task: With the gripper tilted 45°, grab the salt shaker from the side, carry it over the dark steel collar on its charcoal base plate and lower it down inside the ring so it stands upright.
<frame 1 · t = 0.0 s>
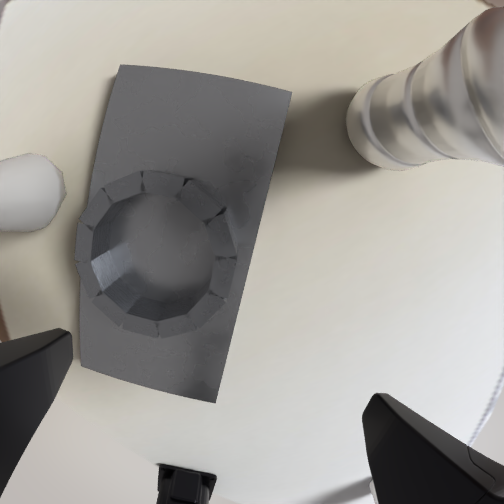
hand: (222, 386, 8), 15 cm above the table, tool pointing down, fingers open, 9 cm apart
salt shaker: (48, 189, 21), on the table
plastic bottle: (379, 127, 20), on the table
steel collar: (166, 243, 22), on the table
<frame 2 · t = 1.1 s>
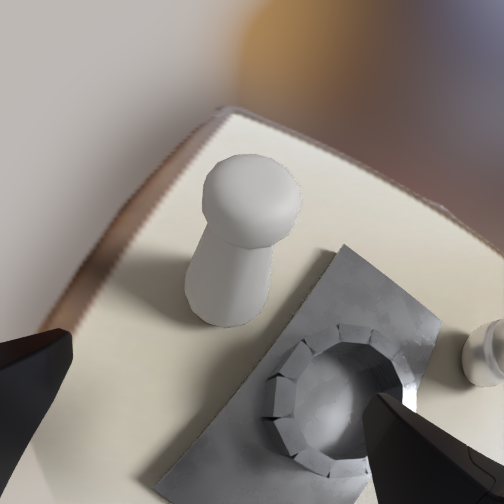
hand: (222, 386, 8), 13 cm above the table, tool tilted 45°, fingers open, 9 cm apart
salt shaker: (222, 299, 24), on the table
plastic bottle: (472, 362, 24), on the table
steel collar: (325, 405, 20), on the table
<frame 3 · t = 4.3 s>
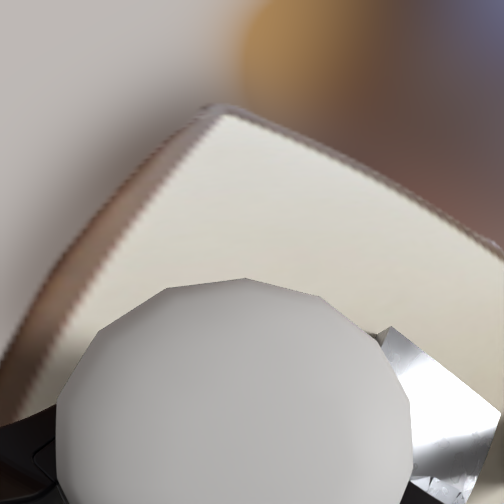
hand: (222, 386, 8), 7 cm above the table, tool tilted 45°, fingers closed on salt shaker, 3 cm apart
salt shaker: (203, 426, 13), on the table, touching gripper
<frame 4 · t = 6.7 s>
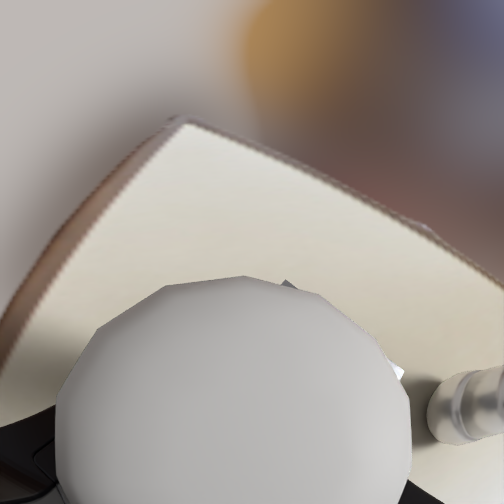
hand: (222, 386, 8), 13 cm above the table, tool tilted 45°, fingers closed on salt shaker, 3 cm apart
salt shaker: (204, 425, 13), point 6 cm above the table, touching gripper
plastic bottle: (442, 412, 21), on the table
when the fingers open (10 cm above the table, at t = 9.1 s): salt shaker stays where it is, resting on steel collar.
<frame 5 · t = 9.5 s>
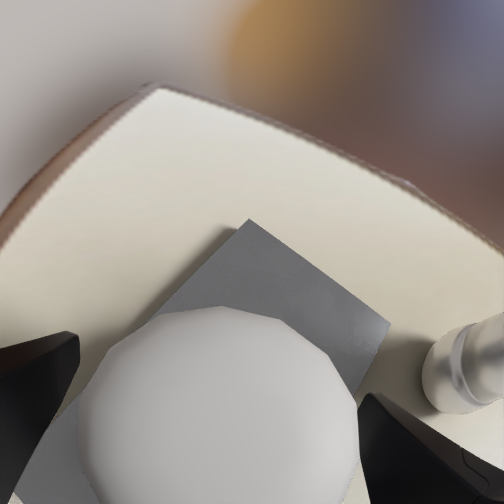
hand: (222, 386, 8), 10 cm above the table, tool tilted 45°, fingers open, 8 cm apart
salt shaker: (201, 429, 14), point 1 cm above the table, touching steel collar
plastic bottle: (440, 378, 19), on the table
steel collar: (202, 424, 15), on the table
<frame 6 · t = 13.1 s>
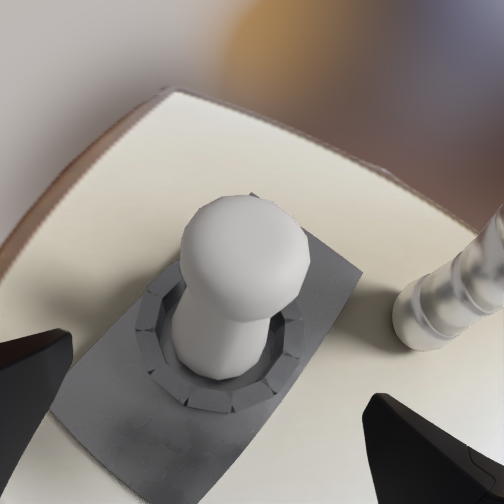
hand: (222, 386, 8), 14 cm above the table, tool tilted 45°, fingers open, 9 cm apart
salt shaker: (215, 342, 21), point 1 cm above the table, touching steel collar
plastic bottle: (410, 324, 26), on the table
steel collar: (215, 344, 22), on the table
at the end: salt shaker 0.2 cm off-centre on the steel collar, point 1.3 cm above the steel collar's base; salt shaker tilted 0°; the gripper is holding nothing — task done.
